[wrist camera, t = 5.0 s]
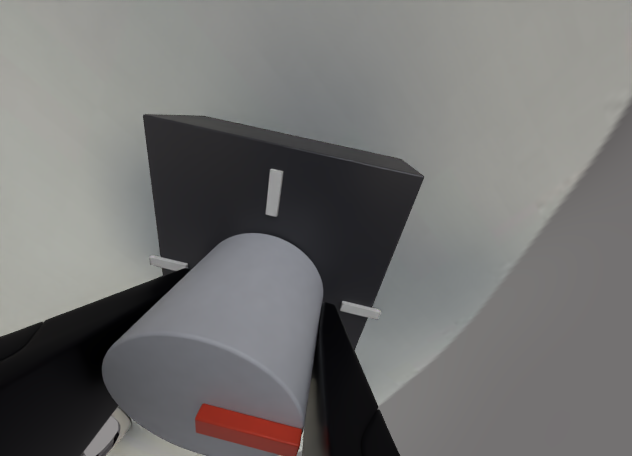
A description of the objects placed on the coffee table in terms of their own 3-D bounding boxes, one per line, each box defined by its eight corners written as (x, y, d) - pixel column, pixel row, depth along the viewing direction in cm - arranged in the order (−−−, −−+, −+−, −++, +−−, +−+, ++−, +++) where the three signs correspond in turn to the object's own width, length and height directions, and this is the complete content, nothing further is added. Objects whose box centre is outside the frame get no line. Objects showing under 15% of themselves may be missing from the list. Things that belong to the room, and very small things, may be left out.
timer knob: (206, 314, 10) (109, 448, 6) (204, 218, 8) (55, 321, 4) (311, 340, 9) (284, 496, 6) (336, 249, 7) (322, 389, 4)
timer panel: (195, 113, 9) (126, 111, 6) (409, 160, 9) (438, 180, 6) (201, 301, 14) (162, 349, 11) (345, 336, 13) (345, 396, 10)
